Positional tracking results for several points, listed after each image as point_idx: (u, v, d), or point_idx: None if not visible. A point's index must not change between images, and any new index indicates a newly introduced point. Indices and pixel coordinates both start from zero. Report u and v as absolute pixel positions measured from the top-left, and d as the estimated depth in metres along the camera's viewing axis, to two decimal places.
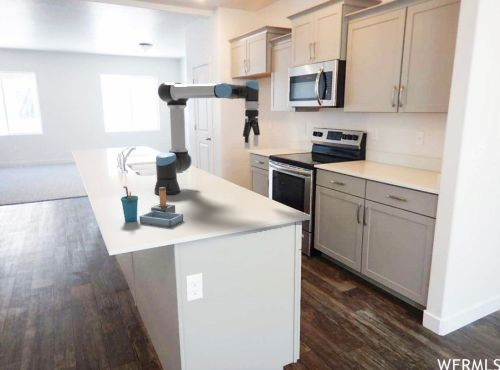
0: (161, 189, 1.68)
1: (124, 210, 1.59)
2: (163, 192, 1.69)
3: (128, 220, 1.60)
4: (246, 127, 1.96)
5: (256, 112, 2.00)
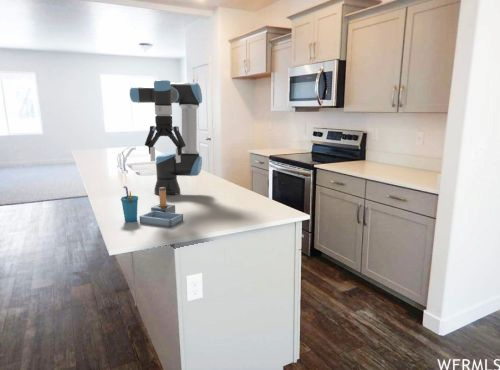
0: (161, 189, 1.68)
1: (124, 210, 1.59)
2: (163, 192, 1.69)
3: (128, 220, 1.60)
4: None
5: (156, 119, 1.62)
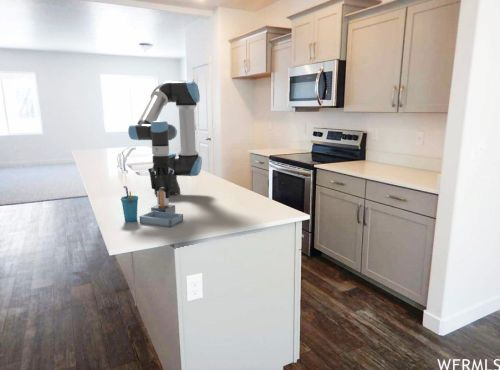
0: (161, 189, 1.68)
1: (124, 210, 1.59)
2: None
3: (128, 220, 1.60)
4: None
5: (153, 159, 1.64)
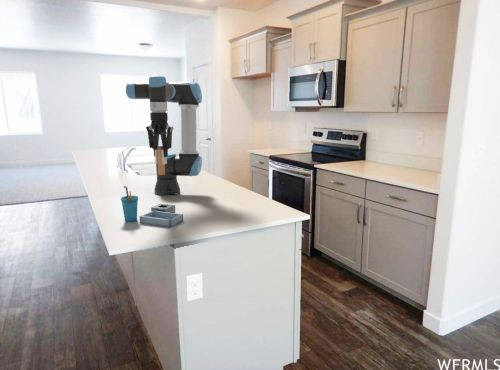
0: (159, 147, 1.64)
1: (124, 210, 1.59)
2: (161, 150, 1.65)
3: (128, 220, 1.60)
4: None
5: (151, 115, 1.60)
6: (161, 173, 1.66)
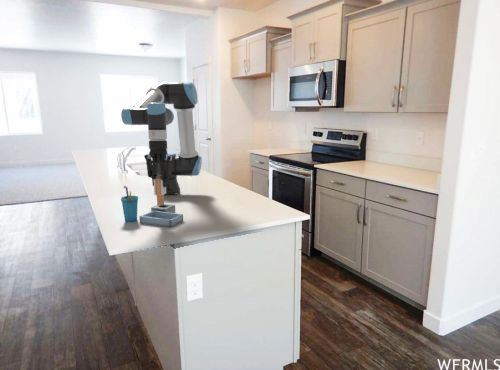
0: (158, 177, 1.55)
1: (124, 210, 1.59)
2: (160, 180, 1.55)
3: (128, 220, 1.60)
4: None
5: (150, 144, 1.51)
6: (160, 204, 1.57)
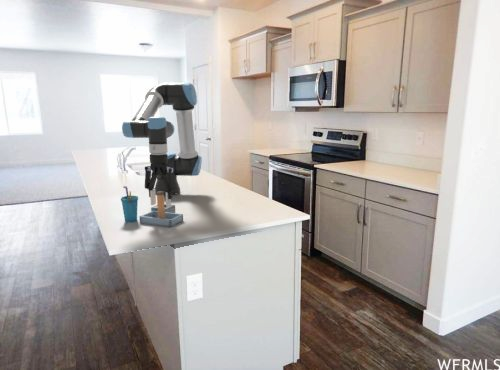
0: (159, 194, 1.56)
1: (124, 210, 1.59)
2: (161, 197, 1.57)
3: (128, 220, 1.60)
4: None
5: (151, 158, 1.52)
6: None
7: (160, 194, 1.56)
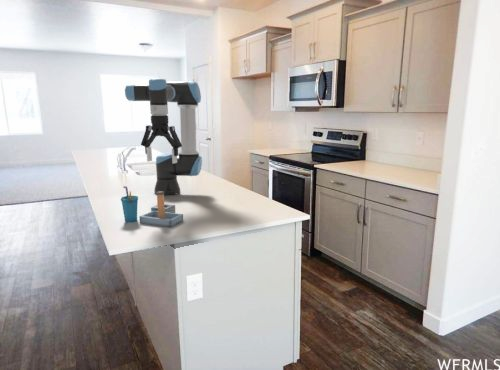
0: (159, 193, 1.57)
1: (124, 210, 1.59)
2: (161, 197, 1.57)
3: (128, 220, 1.60)
4: None
5: (152, 118, 1.58)
6: None
7: (160, 194, 1.57)
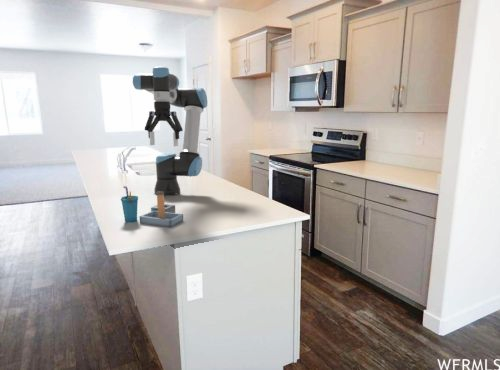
0: (159, 193, 1.57)
1: (124, 210, 1.59)
2: (161, 197, 1.57)
3: (128, 220, 1.60)
4: None
5: (155, 104, 1.70)
6: None
7: (160, 194, 1.57)
